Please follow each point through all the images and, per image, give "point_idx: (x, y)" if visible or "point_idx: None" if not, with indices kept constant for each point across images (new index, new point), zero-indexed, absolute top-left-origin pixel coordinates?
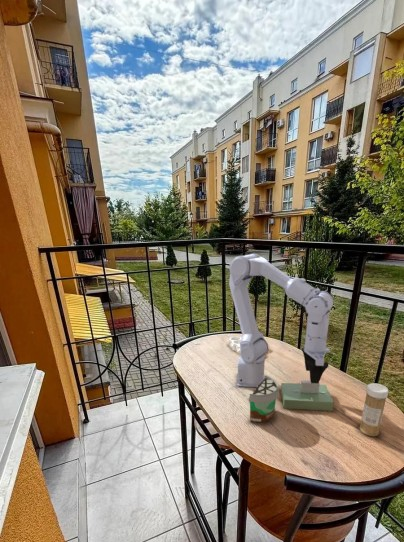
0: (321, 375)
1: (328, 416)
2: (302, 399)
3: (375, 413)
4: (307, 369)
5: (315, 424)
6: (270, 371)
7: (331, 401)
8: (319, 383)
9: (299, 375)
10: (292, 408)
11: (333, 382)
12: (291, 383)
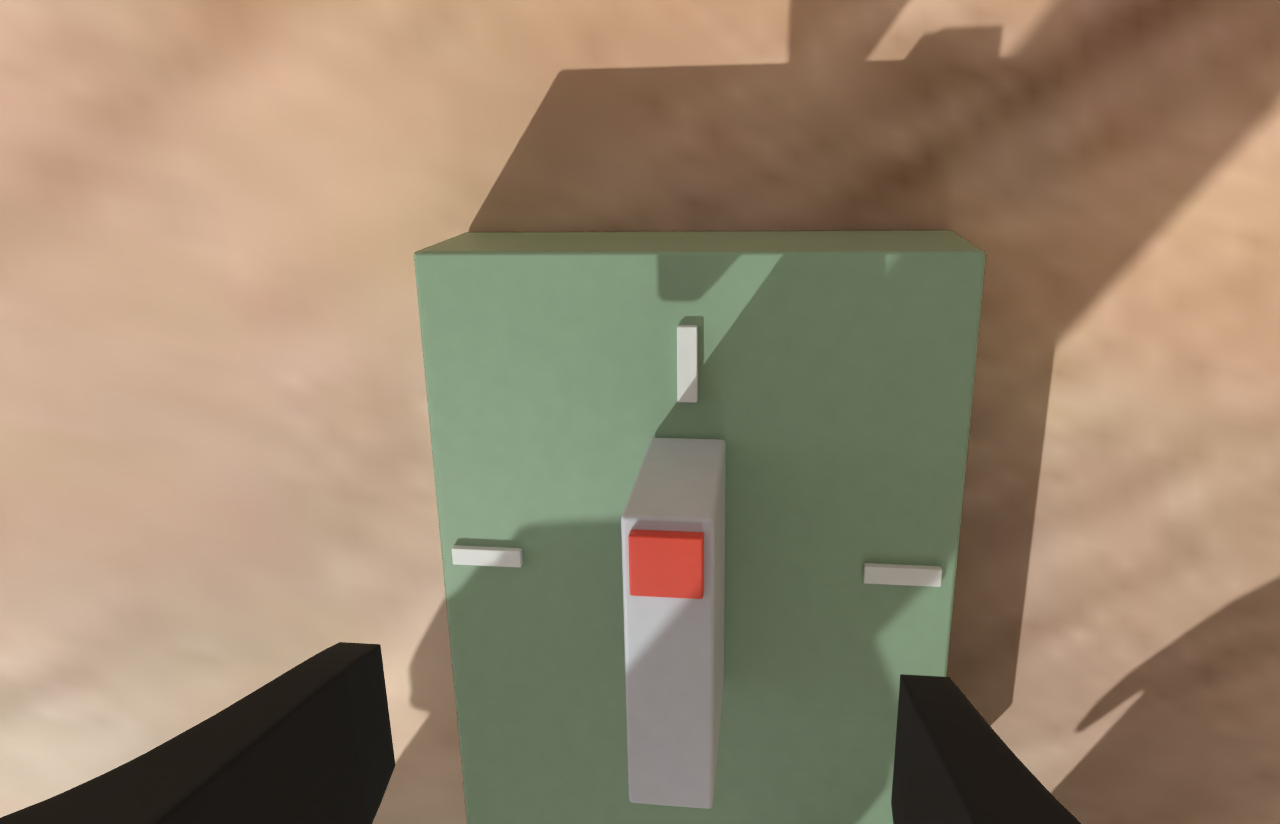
0: (1078, 821)
1: (1085, 321)
2: None
3: None
4: (381, 769)
5: (1263, 529)
6: None
7: (954, 284)
8: (714, 523)
9: (54, 487)
10: None
11: (120, 11)
12: (470, 752)
